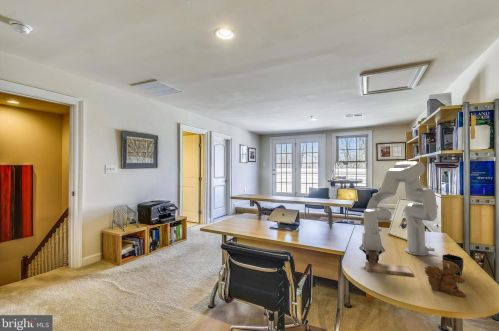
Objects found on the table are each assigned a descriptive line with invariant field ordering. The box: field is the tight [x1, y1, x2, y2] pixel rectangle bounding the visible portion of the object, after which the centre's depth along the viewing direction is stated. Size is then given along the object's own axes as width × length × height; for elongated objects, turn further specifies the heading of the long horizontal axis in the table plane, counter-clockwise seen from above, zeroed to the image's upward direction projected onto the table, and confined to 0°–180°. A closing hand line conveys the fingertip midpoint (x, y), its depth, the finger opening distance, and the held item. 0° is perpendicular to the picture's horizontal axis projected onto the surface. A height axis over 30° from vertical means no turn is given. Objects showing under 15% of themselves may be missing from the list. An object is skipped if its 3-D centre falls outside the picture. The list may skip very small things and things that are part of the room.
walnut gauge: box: [368, 250, 377, 265], centre depth 139 cm, size 4×10×7 cm, turn 160°
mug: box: [441, 253, 464, 277], centre depth 125 cm, size 8×12×10 cm
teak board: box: [364, 261, 415, 277], centre depth 133 cm, size 22×9×2 cm, turn 70°
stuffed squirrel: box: [424, 259, 467, 298], centre depth 111 cm, size 10×14×13 cm
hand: (372, 261), depth 142 cm, fingers closed on walnut gauge, 4 cm apart
